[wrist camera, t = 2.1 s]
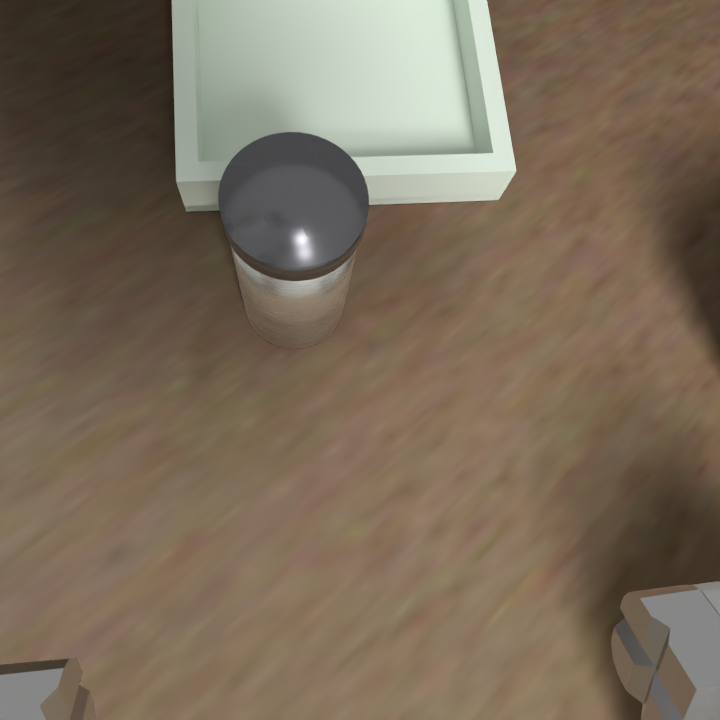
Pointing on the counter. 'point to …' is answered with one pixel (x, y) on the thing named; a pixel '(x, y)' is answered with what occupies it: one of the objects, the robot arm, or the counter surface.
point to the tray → (344, 92)
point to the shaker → (293, 233)
